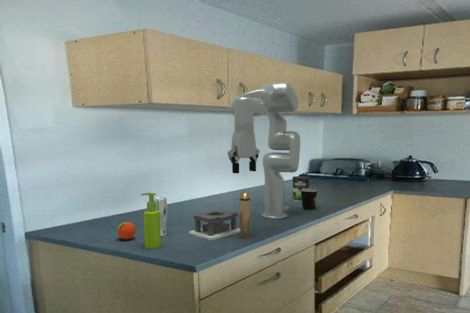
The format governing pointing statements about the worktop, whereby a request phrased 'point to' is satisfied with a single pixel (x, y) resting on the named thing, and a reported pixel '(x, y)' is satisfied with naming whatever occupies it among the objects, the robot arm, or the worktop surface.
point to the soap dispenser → (151, 224)
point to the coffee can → (300, 186)
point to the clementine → (126, 230)
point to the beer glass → (162, 214)
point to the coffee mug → (308, 199)
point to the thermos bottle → (245, 214)
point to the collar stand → (215, 224)
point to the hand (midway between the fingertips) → (244, 172)
